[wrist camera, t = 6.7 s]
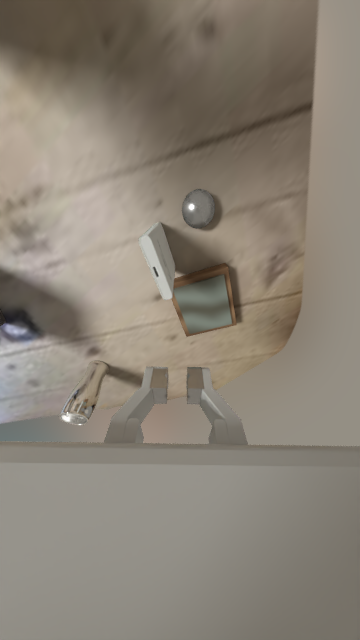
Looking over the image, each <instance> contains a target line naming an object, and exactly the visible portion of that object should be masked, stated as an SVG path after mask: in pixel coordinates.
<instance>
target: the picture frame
mask: <svg viewBox="0 0 360 640" xmlns="http://www.w3.org/2000/svg"><path fill="white" fill-rule="evenodd" d="M4 323H6V320H5V318H4V316H3V314H2V312H1V310H0V326H1V325H3V324H4Z"/></svg>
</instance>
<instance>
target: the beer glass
mask: <svg viewBox="0 0 360 640" xmlns="http://www.w3.org/2000/svg"><path fill="white" fill-rule="evenodd" d="M108 371H109V367H108V365H107V364H105V363H104V362H101V361H92V362H90V363H89V365H88V367H87V371H86V373H85V375H84V376H83V378H82V379H81V380H80V382H79V383H78V384H77V385H76V387H75V388H74V389H73V391H72V392H71V394H70V395H69V397H68V399H67V401H66V402H65V404H64V407H63V409H62V411H61V413H60V415H59V418H60V420H62V421H63V422H65V423H68V424H73V425H84V424H87V423H88V421H89V419H90V417H91V415H92V413H93V411H94V409H95V406H96V404H97V401H98V398H99V395H100V390H101V386H102V382H103V379H104V377H105V375H106V374H107V372H108Z"/></svg>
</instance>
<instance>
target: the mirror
mask: <svg viewBox="0 0 360 640" xmlns="http://www.w3.org/2000/svg"><path fill="white" fill-rule="evenodd" d="M171 299H172V301H173V304H174V306H175V309H176V311H177V314H178V316H179V319H180V321H181V324H182V326H183V329H184V331H185V334H186V336H192V335H196V334H200V333H204V332H208V331H213V330H217V329H221V328H225V327H229V326H234V325H236V318H235V311H234V304H233V297H232V290H231V283H230V277H229V270H228V266H227V265H226V264H225V263H223V264H220V265H217V266H213V267H210V268H207V269H204V270H201V271H197V272H194V273H191V274H188V275H184V276H181V277H178V278H175V279H174V286H173V297H172V298H171Z"/></svg>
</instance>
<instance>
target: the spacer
mask: <svg viewBox="0 0 360 640" xmlns="http://www.w3.org/2000/svg"><path fill="white" fill-rule="evenodd" d="M214 211H215V204H214V200H213V198H212V196H211V195H210V193H208V192H207V191H205V190H202V189H197V190H194V191H192V192H190V193H189V194H188V195H187V196H186V198H185V200H184V202H183V205H182V213H183V217H184V220H185V221H186V223H187V224H188V225H189V226H191V227H193V228H202V227H205V226H206V225H207V224H208V223H209V222H210V221H211V220H212V218H213V215H214Z"/></svg>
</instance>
